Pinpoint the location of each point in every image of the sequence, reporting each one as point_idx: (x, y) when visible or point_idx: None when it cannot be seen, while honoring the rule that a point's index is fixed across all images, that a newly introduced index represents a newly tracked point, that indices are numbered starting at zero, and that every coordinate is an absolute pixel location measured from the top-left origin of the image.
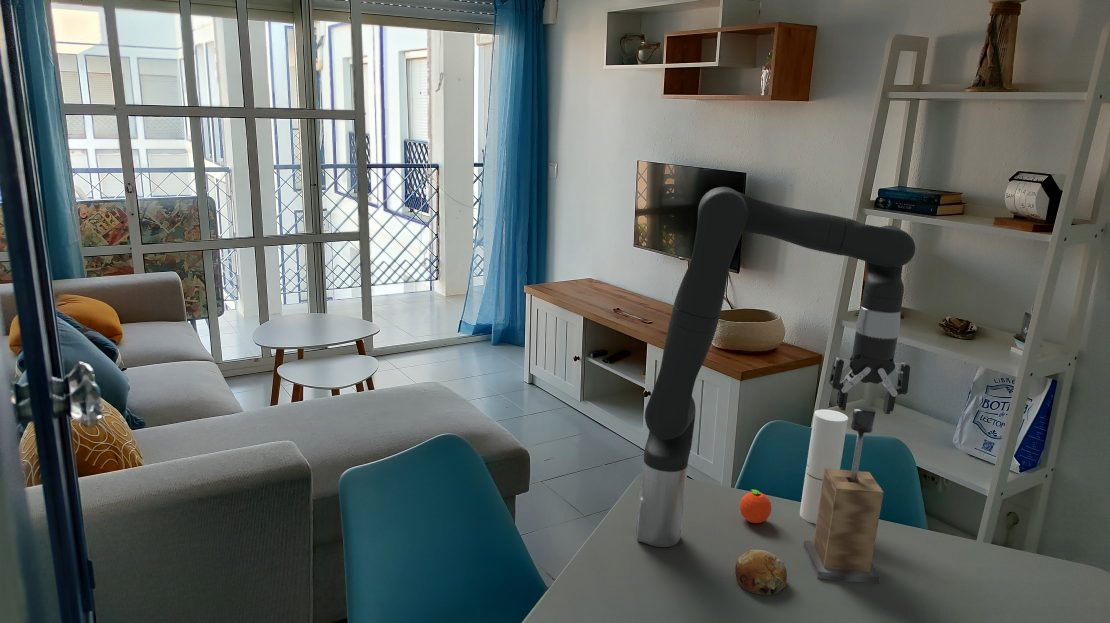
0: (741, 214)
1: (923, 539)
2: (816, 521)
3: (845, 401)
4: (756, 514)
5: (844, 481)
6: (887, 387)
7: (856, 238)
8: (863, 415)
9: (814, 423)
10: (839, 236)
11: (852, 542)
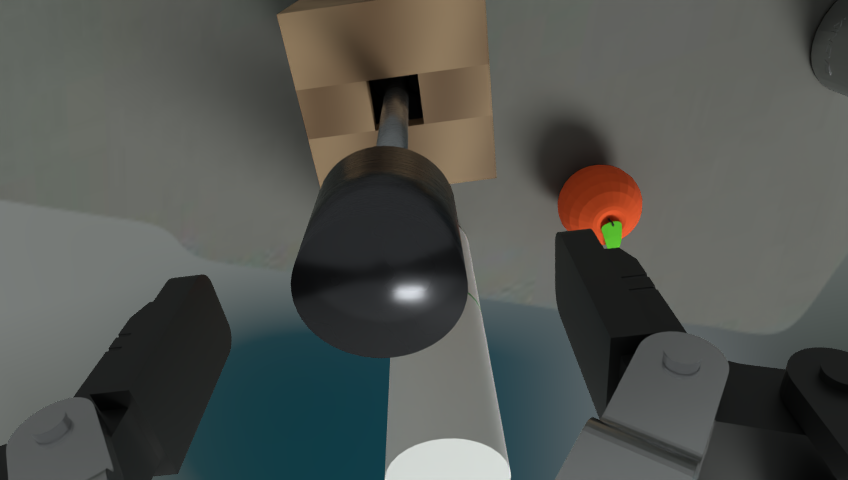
0: None
1: (190, 220)
2: None
3: (593, 276)
4: (605, 167)
5: (436, 74)
6: (99, 472)
7: None
8: (399, 205)
9: (503, 437)
10: None
11: None
